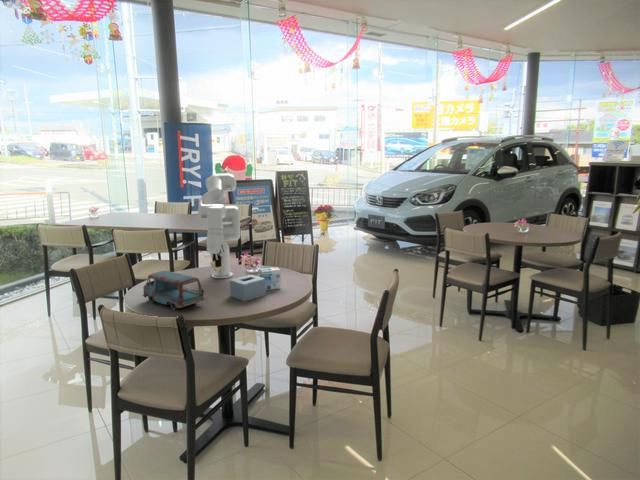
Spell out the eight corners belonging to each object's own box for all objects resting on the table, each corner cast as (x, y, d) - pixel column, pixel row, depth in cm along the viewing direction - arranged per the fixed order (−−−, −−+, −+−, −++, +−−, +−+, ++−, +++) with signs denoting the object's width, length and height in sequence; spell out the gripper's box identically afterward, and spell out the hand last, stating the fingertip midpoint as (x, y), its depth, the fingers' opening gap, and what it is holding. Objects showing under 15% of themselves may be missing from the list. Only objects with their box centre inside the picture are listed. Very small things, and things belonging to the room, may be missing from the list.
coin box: (230, 296, 238) (229, 279, 236) (251, 290, 248) (250, 274, 246) (244, 301, 230) (243, 284, 228) (265, 294, 240) (265, 278, 238)
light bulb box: (262, 290, 248) (261, 271, 245) (259, 287, 254) (258, 268, 252) (281, 288, 251) (280, 269, 249) (277, 285, 258) (277, 266, 255)
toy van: (167, 293, 243) (165, 266, 240) (206, 305, 225) (205, 276, 222) (141, 301, 231) (138, 273, 228) (180, 314, 212) (178, 283, 210)
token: (214, 270, 233) (209, 263, 230) (221, 264, 235) (217, 257, 233) (217, 271, 231) (212, 264, 229) (224, 265, 234) (219, 257, 231)
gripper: (200, 230, 231) (202, 265, 235) (217, 233, 221) (219, 270, 224) (213, 228, 237) (214, 262, 240) (230, 231, 226) (232, 267, 229)
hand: (217, 266), depth 232 cm, fingers closed on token, 2 cm apart
